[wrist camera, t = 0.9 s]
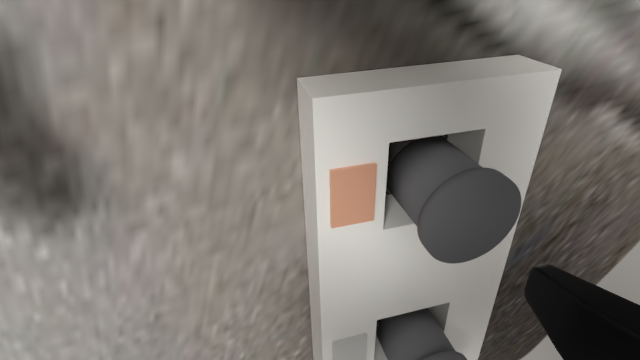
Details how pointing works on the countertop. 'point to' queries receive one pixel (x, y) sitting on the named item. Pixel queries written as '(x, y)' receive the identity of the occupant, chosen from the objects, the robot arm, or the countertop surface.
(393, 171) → the near button
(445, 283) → the panel
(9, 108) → the countertop surface
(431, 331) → the far button
